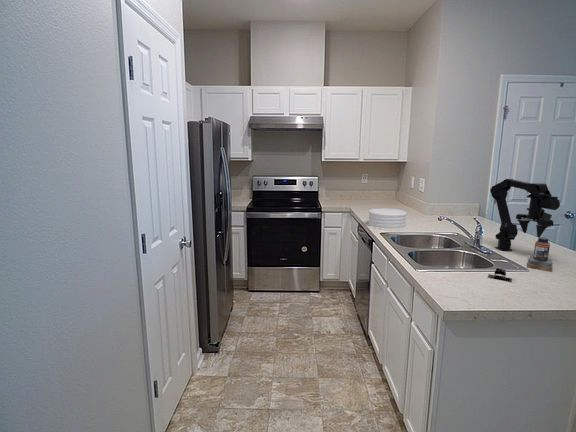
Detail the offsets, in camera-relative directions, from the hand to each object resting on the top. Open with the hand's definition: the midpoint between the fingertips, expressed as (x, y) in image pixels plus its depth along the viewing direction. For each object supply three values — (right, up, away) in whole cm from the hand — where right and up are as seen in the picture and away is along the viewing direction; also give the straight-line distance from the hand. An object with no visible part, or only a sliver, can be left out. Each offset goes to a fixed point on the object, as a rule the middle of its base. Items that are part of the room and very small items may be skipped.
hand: (531, 235), depth 180 cm
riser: (-5, -16, -12) cm, 20 cm away
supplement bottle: (-5, -12, -12) cm, 18 cm away
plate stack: (-55, +2, +79) cm, 97 cm away
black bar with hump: (-34, -19, -26) cm, 47 cm away
